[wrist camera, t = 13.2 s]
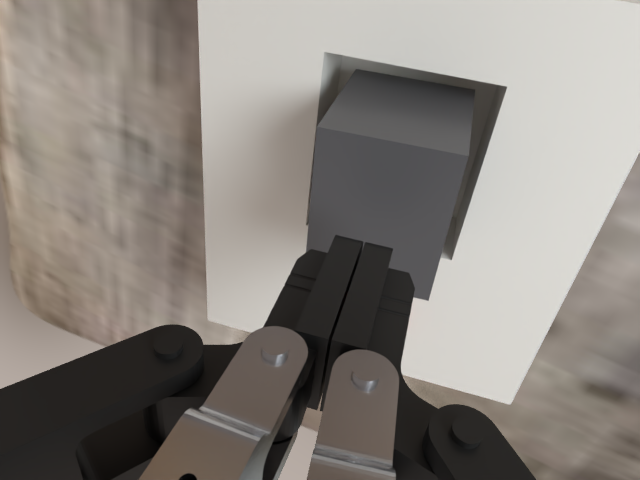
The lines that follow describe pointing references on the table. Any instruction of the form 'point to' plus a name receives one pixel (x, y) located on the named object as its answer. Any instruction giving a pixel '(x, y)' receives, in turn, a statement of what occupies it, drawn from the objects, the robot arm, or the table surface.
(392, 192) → the plug
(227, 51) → the socket
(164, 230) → the table surface
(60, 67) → the table surface
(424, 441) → the robot arm
